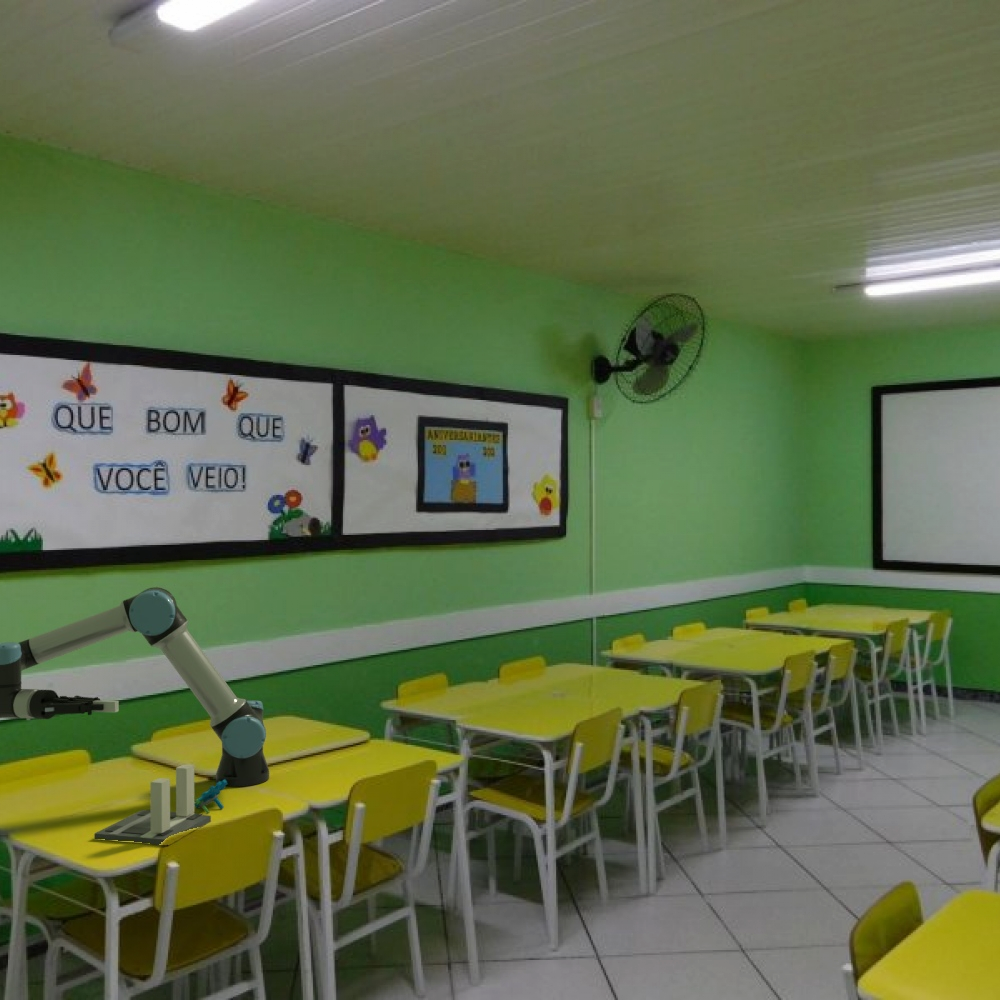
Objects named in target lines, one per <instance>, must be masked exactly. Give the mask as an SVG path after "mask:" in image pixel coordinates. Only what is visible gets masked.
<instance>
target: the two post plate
mask: <svg viewBox="0 0 1000 1000" xmlns="http://www.w3.org/2000/svg"><path fill="white" fill-rule="evenodd" d="M175 794H176V795H175V803H176V804H175V811H170V829H169V830H167V831H165V832H163V833H153V832H151V809H145V810H144V809H141V810H139V811H137V812H135V813H133V814H131V815H129V816H126V817H124V818H123V819H121V820H118V821H117V822H115V823H112V824H111V825H109V826H106V827H105V828H102V829H101V830H99V831H97V832H95V833H94V835H93V836H94V837H93V838H94V839H105V840H118V841H134V842H142V843H150V844H156V845H155V846H160V845H159V844H161V842H163V841H164V840H165V839H166V838H168V837H169V836H171V835H174V834H177V833H179V832H183V831H187V830H189V829H193V828H197V827H200V828H202V827H204V826H205V825H207V824H209V823H211V822H212V820H211V819H212V816H211V815H208V814H207V815H206V814H203V813H195V805H194V804H195V802H194V800H195V765H194V764H182V765H179V766H177V767H176V768H175ZM203 825H204V826H203ZM201 826H202V827H201Z"/></svg>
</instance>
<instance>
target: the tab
mask: <svg viewBox="0 0 1000 1000" xmlns="http://www.w3.org/2000/svg"><path fill="white" fill-rule="evenodd" d="M150 810H151V832H153V833H163V832H165V831H167V830H169V829H170V812H171V778H160V777H158V778H156V779H154V780H152V781H150Z"/></svg>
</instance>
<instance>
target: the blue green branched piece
mask: <svg viewBox="0 0 1000 1000" xmlns="http://www.w3.org/2000/svg"><path fill="white" fill-rule="evenodd" d="M227 784H228V783H227V781H226V780H222V781H221V782H220V781H219V782H218V783H215V786H214V785H211V786H210V787H209V788H208V790H207V791H204V792H202V794H201V797H200V796H199V797H198V798H196V799H194V807H195V808H196V809H203V811H204V812H205V813H206V814H207V815H208V814H209V813H210V811H209V809H208V808H207V805H209V804H211V803H213V802H214V803H215V804H216V805H217V807H218V808H219V809H220V810H222V809H224V805H223V804H222V802H221V801H220V800H219V799H218V796H219V794H221V791H223V790H225V788H226V787H227V786H226V785H227Z"/></svg>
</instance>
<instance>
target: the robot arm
mask: <svg viewBox="0 0 1000 1000" xmlns="http://www.w3.org/2000/svg"><path fill="white" fill-rule="evenodd" d="M188 623H189V621H188V619H187V618H186V616H185V615H184V614H183V613H182V611H181V609H180V608H179V607H178V605H177V601H176V599H175V596H174V595H173V594H172V593H171V592H170V591H169V590H167V589H166V588H163V587H158V586H156V587H149V588H146V589H145V590H143V591H141V592H140V593H138V594H136V595H134V596H132V597H129V598H127V599H124V600H122V601H121V603H120V605H118V606H115V607H113V608H109V609H106V610H104V611H101V612H99V613H96V614H93V615H90V616H88V617H85V618H82V619H79V620H76V621H74V622H72V623H71V622H70V623H69V624H66V625H63V626H60V627H57V628H55V629H51V630H50V631H47V632H44V633H41V634H39V635H36V636H33V637H30V638H28V639H24V640H23V641H19V642H13V641H12V642H10V641H9V642H0V719H7V718H8V719H9V718H10V719H26V721H30V720H31V719H32V720H33V719H37V720H49V719H52V718H54V716H56V715H65V714H67V715H68V714H69V715H70V714H74V715H75V714H76V715H77V714H81V715H82V714H83V715H84V714H85V713H87V716H91V715H93V713H111V714H112V713H113V714H115V713H118V712H119V711H120V709H119V707H120V706H119V702H120V701H119V700H104V699H103V700H101V699H100V698H99V697H98V696H96V697H88V696H87V697H86V696H80V695H74V697H73V696H67V695H60V696H59V695H58V694H57V692H56V691H55V690H53V689H37V688H33V689H32V688H22V671H24V670H27V669H30V668H33V667H35V666H37V665H40V664H42V663H45V662H47V661H50V660H53V659H56V658H59V657H61V656H64V655H67V654H69V653H72V652H75V651H78V650H81V649H83V648H86V647H89V646H91V645H93V644H97V643H99V642H103V641H105V640H109V639H110V638H113V637H115V636H118V635H121V634H124V633H126V632H129V631H130V632H132V633H136V632H139V633H140V634H141V635H142V636H143V637H144V639H145V640H146V641H147V643H148V644H149V645H150V646H151V647H153V648H159V649H160V650H161V652H162V653H163V654H164V656H165V657H166V658H167V660H168V661H169V663H170V664H171V665H172V666H173V668H174V669H175V671H176V672H177V674H178V675H179V676H180V678H181V679H182V680H183V681H184V683H185V684H186V685H187V687H188V688H189V689H190V691H191V692H192V694H193V695H194V697H195V698H196V699H197V700H198V701H199V703H200V705H201V706H202V707H203V709H204V710H205V711H206V712H207V713H208V715H209V716H210V723H209V726H210V728H211V729H212V730H213V732H214V733H215V734H216V736H217V738H218V739H219V740H220V741H221V747H222V748H221V751H222V752H221V756H220V757H221V758H220V760H219V764H218V767H217V770H216V773H215V782H216V783H218V782H219V781H220V782H221V781H222V780H226V781H227V783H228V784H227V785H228V786H227V787H247V786H255V785H260V784H262V783H264V782H267V781H269V780H270V769H269V766H268V762H267V760H266V757H265V754H264V744H265V742H266V737H267V733H266V732H267V731H266V727H265V724H264V705H263V704H264V703H263V702H262V701H261V700H247V699H245V698H239V697H237V696H236V694H235V693H234V692H233V690H232V688H231V687H230V686H229V685H228V683H227V682H226V681H225V679H224V678H223V676H222V675H221V674H220V673H219V670H217V669H216V667H215V665H214V664H213V663H212V662H211V660H210V659H209V657H208V656H207V655H206V653H205V652H204V650H203V649H202V648H201V646H200V645H199V644H198V641H196V640H195V639H194V636H192V634H191V633H190V632H189V630H188ZM216 783H215V784H216Z"/></svg>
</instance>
